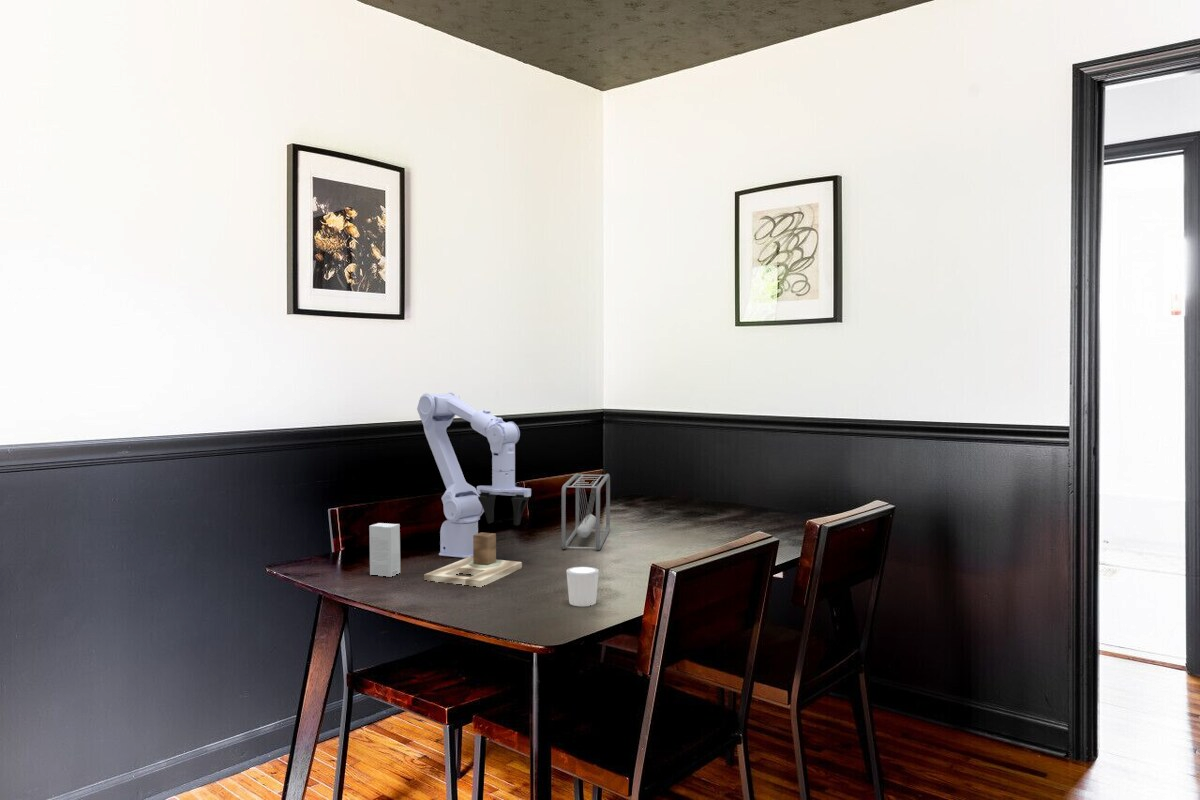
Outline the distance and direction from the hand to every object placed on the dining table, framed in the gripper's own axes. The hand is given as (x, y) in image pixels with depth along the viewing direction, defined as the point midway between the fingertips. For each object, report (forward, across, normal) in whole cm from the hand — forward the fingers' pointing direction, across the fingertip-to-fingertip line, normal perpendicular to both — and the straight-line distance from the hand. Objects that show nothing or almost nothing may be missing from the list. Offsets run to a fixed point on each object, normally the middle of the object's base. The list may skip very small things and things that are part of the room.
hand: (503, 523), depth 215 cm
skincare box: (+10, -20, -22) cm, 31 cm away
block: (+8, 0, -9) cm, 12 cm away
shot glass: (+10, +33, -26) cm, 43 cm away
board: (+10, 0, -14) cm, 17 cm away
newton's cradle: (+10, +8, +34) cm, 37 cm away
